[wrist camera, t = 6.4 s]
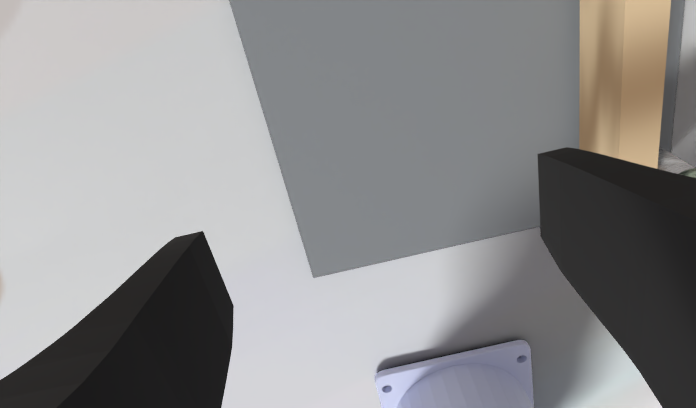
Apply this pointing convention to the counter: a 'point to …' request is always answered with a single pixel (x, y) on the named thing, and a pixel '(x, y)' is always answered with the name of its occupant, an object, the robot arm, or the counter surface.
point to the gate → (622, 77)
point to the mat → (418, 115)
